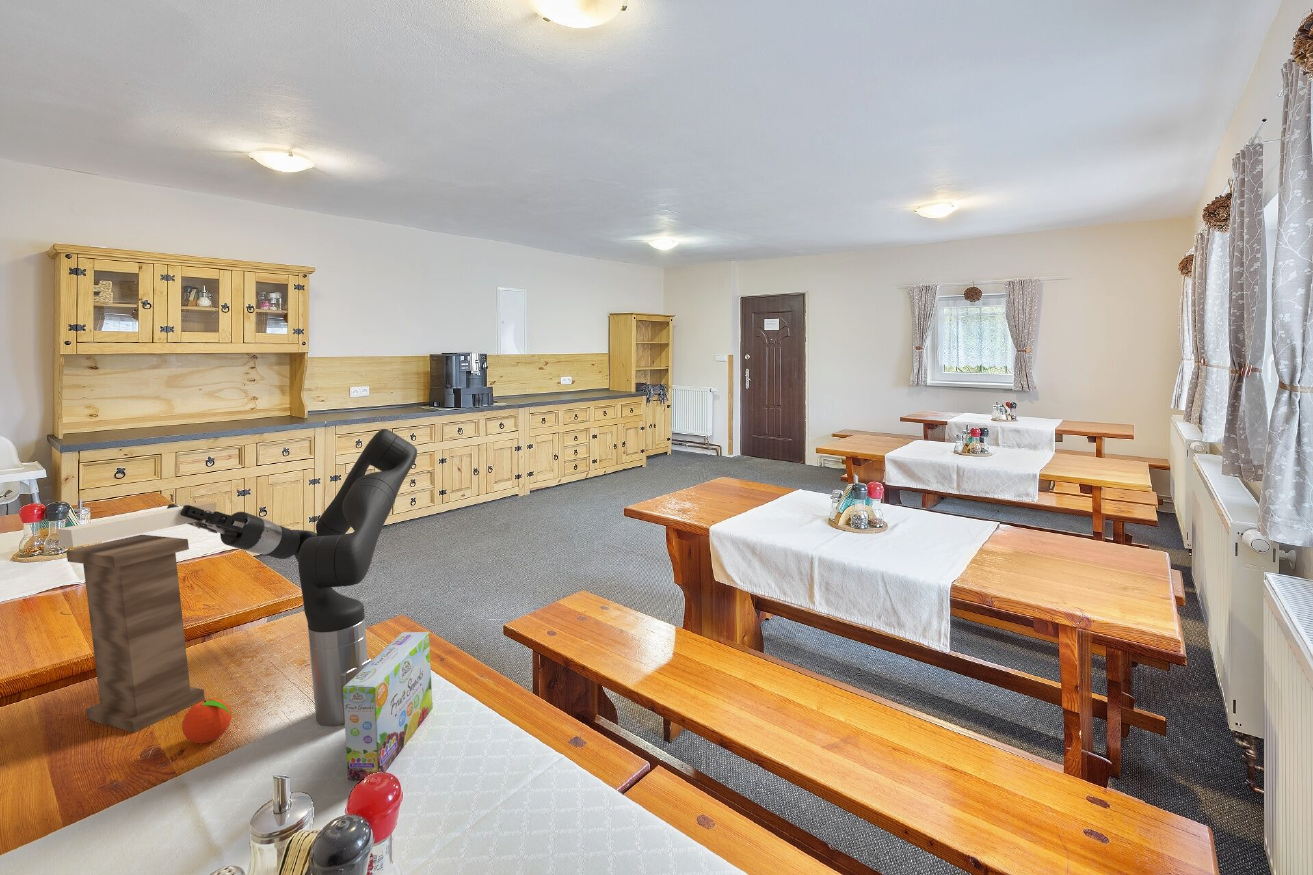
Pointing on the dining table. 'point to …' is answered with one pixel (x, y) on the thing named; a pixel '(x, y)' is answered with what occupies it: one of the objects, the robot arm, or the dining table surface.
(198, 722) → the clementine
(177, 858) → the dining table surface
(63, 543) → the cream wooden bar
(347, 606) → the robot arm
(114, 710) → the walnut pedestal
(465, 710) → the dining table surface
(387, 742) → the snack box
